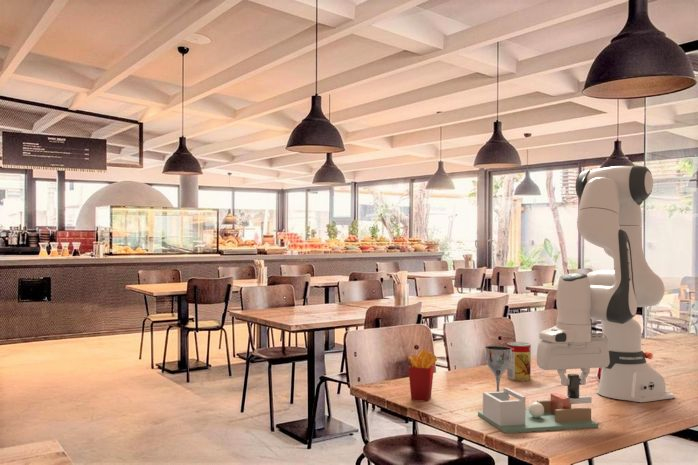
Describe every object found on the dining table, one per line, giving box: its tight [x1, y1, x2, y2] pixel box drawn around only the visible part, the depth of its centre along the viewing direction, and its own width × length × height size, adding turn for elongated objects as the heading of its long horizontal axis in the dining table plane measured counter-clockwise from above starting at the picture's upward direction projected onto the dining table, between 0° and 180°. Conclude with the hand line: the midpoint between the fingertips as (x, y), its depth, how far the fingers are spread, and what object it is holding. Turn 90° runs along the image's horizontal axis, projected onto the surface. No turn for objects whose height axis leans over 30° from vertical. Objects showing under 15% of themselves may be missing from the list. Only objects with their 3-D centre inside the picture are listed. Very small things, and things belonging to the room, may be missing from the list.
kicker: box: [550, 373, 592, 414], centre depth 165 cm, size 10×6×10 cm, turn 103°
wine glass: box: [484, 344, 512, 399], centre depth 188 cm, size 8×8×15 cm
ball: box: [528, 401, 544, 418], centre depth 162 cm, size 4×4×4 cm
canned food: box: [506, 341, 532, 382], centre depth 214 cm, size 8×8×12 cm
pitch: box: [477, 387, 599, 434], centre depth 162 cm, size 26×16×8 cm, turn 103°
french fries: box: [407, 348, 438, 402], centre depth 185 cm, size 9×8×15 cm
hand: (573, 384), depth 165 cm, fingers open, 3 cm apart
